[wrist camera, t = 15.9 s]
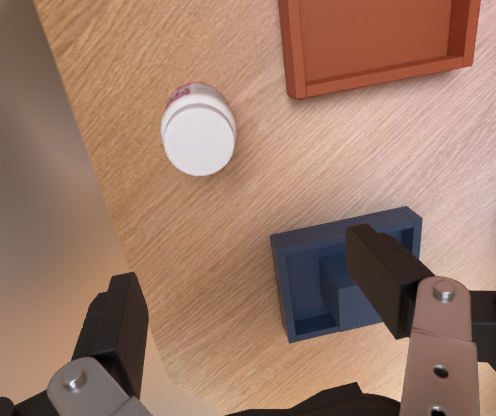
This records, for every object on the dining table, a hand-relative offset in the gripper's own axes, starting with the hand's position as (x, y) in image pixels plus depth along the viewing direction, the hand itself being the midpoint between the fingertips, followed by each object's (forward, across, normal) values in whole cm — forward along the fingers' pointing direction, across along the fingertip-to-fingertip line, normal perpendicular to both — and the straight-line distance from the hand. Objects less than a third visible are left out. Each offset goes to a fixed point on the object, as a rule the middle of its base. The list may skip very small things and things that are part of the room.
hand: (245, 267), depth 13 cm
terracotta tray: (+17, -13, -9) cm, 23 cm away
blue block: (+16, -11, +15) cm, 25 cm away
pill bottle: (+17, +1, -2) cm, 18 cm away
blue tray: (+17, -11, +15) cm, 25 cm away
